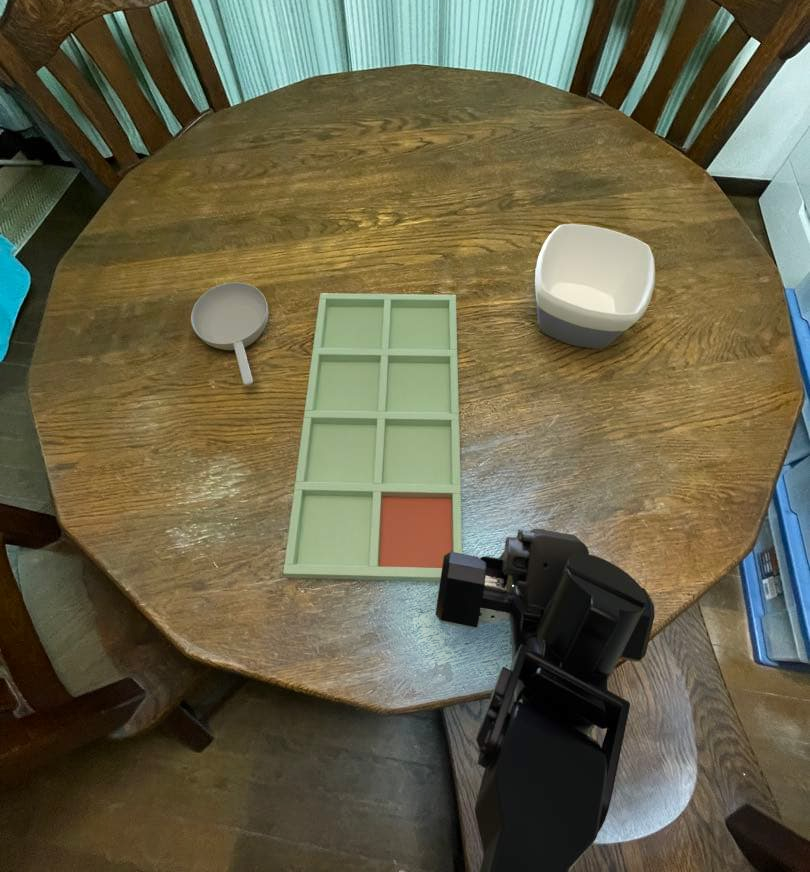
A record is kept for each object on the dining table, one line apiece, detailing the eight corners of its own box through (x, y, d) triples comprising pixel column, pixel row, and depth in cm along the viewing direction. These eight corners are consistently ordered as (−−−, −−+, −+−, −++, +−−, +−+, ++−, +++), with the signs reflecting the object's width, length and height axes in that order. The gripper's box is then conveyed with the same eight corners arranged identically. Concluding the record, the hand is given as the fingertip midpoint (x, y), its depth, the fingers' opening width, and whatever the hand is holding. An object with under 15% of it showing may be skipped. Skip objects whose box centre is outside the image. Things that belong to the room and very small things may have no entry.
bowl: (537, 263, 92) (551, 212, 83) (638, 289, 89) (663, 239, 80) (513, 342, 84) (525, 295, 75) (622, 373, 81) (649, 328, 72)
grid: (461, 582, 67) (463, 578, 65) (286, 577, 68) (282, 573, 66) (455, 304, 88) (455, 294, 86) (322, 302, 89) (320, 293, 87)
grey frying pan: (262, 287, 91) (257, 272, 87) (293, 384, 81) (288, 370, 78) (192, 308, 89) (184, 293, 85) (216, 410, 79) (207, 397, 76)
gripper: (694, 598, 44) (641, 500, 59) (445, 551, 46) (456, 468, 61) (662, 723, 46) (619, 598, 61) (427, 673, 48) (441, 564, 63)
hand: (534, 555), depth 62 cm, fingers closed on cork, 5 cm apart
